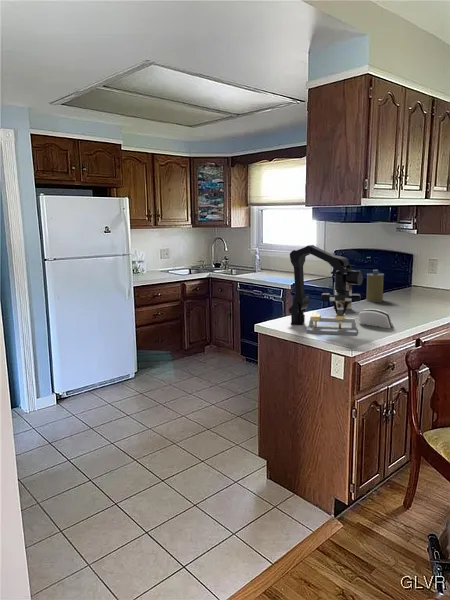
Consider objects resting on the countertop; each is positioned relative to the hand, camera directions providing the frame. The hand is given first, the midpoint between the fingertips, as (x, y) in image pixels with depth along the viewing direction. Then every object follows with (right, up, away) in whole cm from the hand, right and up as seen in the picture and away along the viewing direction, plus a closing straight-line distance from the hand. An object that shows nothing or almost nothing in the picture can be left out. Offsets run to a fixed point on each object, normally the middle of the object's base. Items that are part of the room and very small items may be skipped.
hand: (340, 314), depth 225 cm
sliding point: (0, -6, +1) cm, 7 cm away
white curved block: (+20, -7, +9) cm, 23 cm away
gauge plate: (-4, -9, +2) cm, 9 cm away
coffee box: (+14, +2, +49) cm, 51 cm away
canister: (+40, +7, +69) cm, 80 cm away
